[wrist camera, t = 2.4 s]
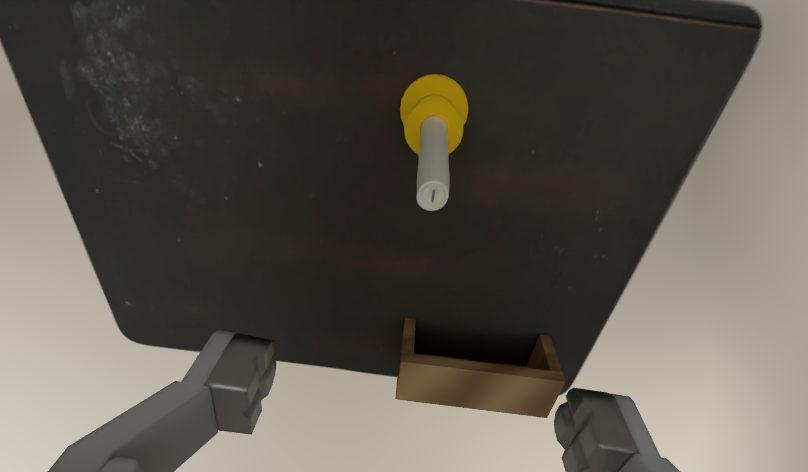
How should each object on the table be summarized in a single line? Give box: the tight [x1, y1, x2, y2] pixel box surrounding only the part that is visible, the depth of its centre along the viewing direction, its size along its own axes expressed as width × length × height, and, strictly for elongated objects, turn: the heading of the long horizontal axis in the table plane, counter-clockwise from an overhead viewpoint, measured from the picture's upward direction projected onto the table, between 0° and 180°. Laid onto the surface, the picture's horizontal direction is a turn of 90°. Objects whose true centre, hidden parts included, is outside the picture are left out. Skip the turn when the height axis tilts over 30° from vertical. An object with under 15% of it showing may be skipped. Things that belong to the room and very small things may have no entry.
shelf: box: [396, 318, 565, 418], centre depth 41 cm, size 16×6×6 cm, turn 84°
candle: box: [400, 74, 468, 211], centre depth 23 cm, size 5×5×16 cm
